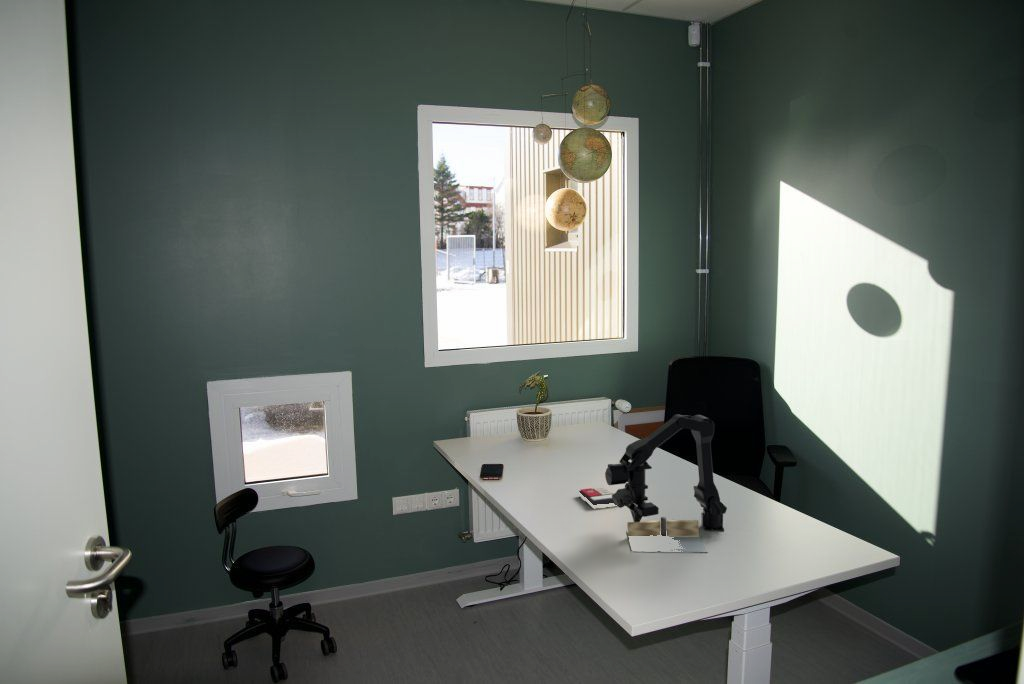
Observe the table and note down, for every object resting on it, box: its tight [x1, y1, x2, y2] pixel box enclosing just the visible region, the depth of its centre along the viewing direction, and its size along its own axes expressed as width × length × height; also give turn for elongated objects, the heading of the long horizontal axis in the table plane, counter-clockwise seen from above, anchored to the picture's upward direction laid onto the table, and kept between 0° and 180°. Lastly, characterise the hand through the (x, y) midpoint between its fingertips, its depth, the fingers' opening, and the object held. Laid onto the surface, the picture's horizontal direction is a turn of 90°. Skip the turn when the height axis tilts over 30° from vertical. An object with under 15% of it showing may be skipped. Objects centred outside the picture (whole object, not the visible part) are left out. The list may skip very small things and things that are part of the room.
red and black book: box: [578, 486, 614, 505], centre depth 260 cm, size 11×4×15 cm
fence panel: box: [626, 519, 661, 537], centre depth 224 cm, size 11×1×5 cm, turn 96°
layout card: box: [669, 534, 708, 554], centre depth 221 cm, size 24×17×1 cm
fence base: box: [660, 516, 700, 536], centre depth 224 cm, size 12×2×6 cm, turn 85°
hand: (636, 525), depth 225 cm, fingers closed
